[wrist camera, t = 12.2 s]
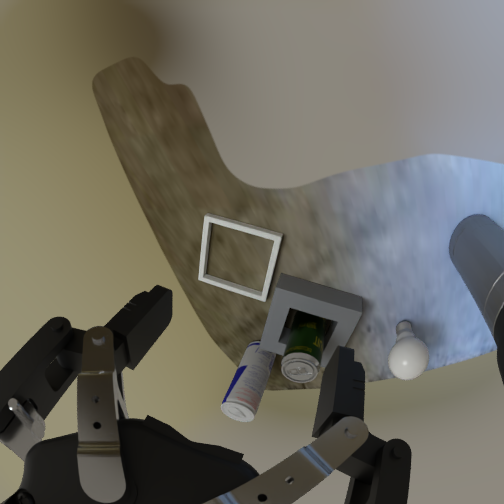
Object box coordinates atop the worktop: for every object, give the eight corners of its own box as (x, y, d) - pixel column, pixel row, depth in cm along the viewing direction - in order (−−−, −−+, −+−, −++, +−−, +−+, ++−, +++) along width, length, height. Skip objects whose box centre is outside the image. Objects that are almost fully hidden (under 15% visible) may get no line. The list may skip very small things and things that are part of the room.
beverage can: (248, 336, 52) (219, 399, 39) (278, 343, 50) (255, 409, 38) (246, 356, 54) (220, 416, 41) (274, 362, 53) (252, 426, 40)
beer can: (300, 331, 48) (287, 385, 38) (290, 307, 46) (273, 360, 36) (331, 326, 46) (323, 381, 35) (322, 300, 44) (313, 355, 34)
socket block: (361, 296, 42) (362, 312, 38) (333, 352, 48) (331, 369, 45) (281, 272, 44) (275, 287, 40) (264, 332, 50) (258, 347, 47)
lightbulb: (427, 321, 40) (440, 369, 31) (402, 344, 43) (408, 393, 34) (403, 303, 40) (413, 352, 31) (377, 328, 43) (380, 378, 34)
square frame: (283, 233, 41) (281, 237, 40) (266, 297, 47) (265, 301, 46) (208, 212, 43) (204, 215, 42) (201, 276, 49) (198, 279, 48)
